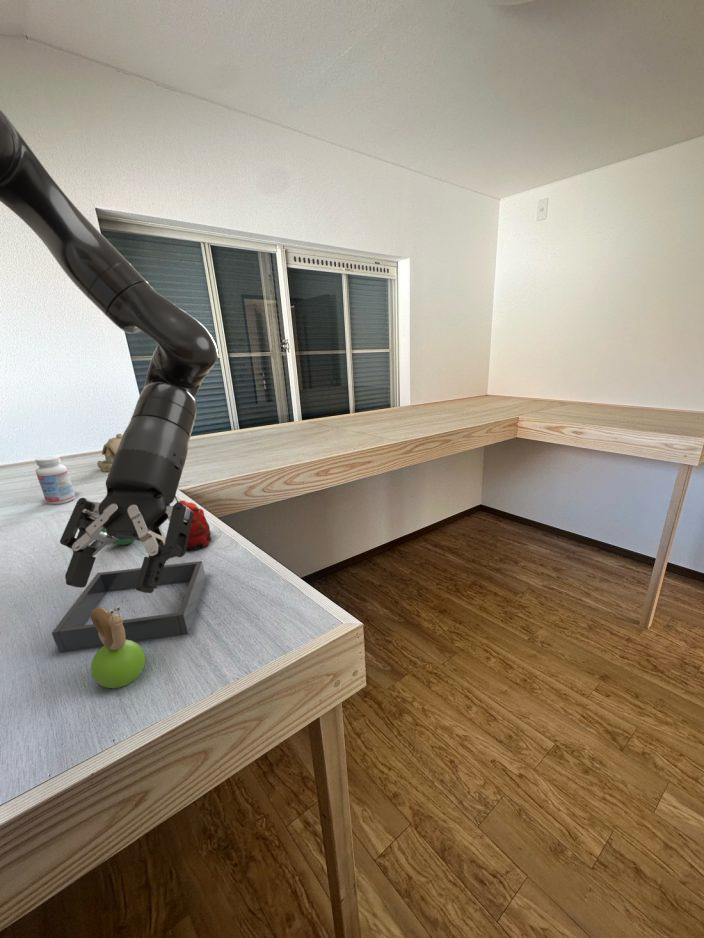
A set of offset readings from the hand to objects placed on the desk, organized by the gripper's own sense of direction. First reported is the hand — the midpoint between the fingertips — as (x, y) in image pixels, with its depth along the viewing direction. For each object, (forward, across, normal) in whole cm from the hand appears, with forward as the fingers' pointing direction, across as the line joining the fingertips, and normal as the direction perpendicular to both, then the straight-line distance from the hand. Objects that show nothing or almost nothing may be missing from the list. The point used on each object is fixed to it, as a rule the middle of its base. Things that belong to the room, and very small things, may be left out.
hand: (109, 589), depth 47 cm
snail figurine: (+10, 0, +8) cm, 13 cm away
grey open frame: (+1, -7, +16) cm, 18 cm away
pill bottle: (-27, -58, +45) cm, 78 cm away
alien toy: (-14, -25, +31) cm, 42 cm away
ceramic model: (-48, -62, +65) cm, 102 cm away
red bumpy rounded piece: (-14, -11, +32) cm, 36 cm away
